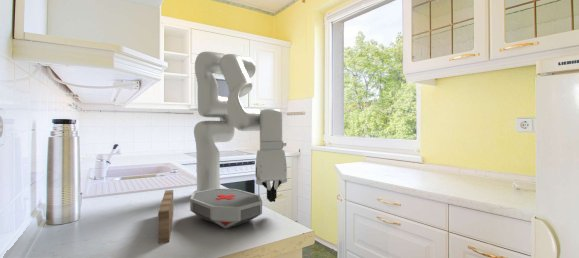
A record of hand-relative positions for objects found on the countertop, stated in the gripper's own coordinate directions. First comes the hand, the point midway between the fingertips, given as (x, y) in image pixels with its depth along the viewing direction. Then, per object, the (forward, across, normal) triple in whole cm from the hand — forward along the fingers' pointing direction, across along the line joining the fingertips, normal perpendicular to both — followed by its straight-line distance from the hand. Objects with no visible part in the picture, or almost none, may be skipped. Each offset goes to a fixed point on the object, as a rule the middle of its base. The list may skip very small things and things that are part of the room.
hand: (271, 200), depth 97 cm
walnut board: (+5, +32, 0) cm, 33 cm away
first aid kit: (+5, +15, 0) cm, 16 cm away
